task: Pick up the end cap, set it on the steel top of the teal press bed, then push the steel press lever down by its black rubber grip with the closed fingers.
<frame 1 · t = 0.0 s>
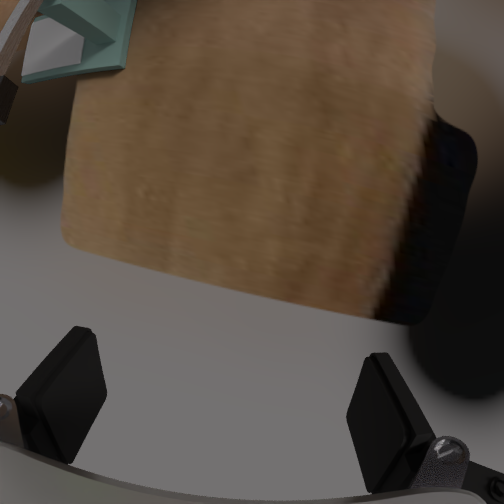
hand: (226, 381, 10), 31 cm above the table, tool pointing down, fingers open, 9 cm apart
press lever: (11, 35, 15), point 20 cm above the table, hinge at -20.0°
press frame: (77, 40, 33), on the table
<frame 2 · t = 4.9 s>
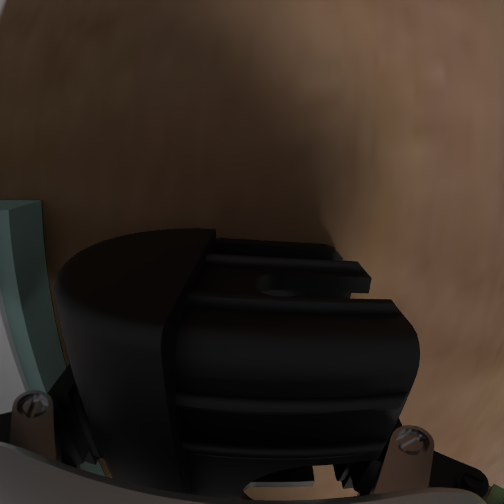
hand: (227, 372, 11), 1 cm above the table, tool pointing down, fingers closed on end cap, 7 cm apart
end cap: (229, 352, 12), on the table, touching gripper
when the fingers open (4 cm above the table, at t = 11.1 s): end cap stays where it is, resting on press frame.
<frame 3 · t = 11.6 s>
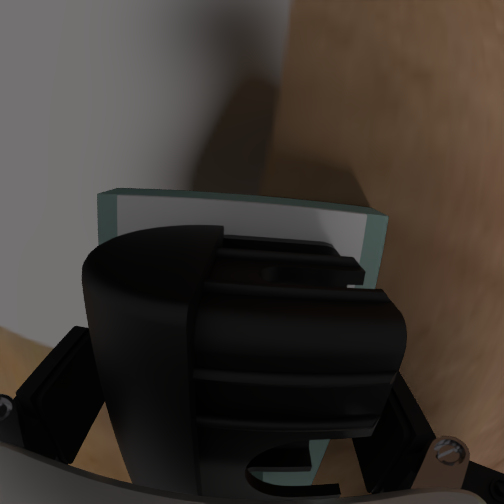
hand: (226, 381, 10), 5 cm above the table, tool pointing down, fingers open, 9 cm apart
end cap: (233, 342, 13), point 2 cm above the table, touching press frame
press frame: (231, 366, 16), on the table
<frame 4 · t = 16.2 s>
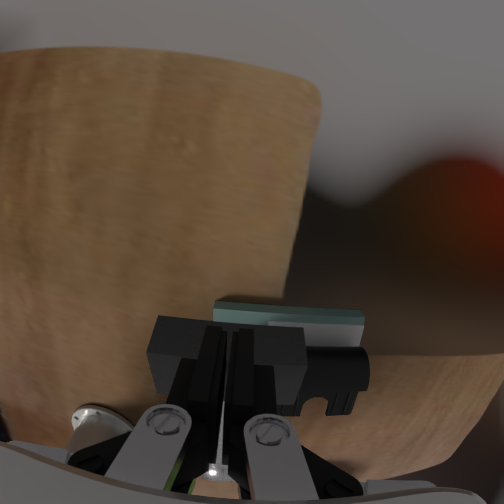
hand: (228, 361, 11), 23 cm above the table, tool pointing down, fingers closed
press lever: (225, 429, 17), point 20 cm above the table, hinge at -17.4°, touching gripper
end cap: (310, 357, 36), point 2 cm above the table, touching press frame
press frame: (284, 346, 38), on the table
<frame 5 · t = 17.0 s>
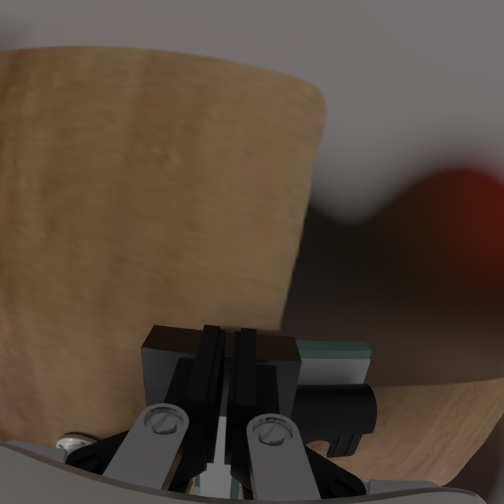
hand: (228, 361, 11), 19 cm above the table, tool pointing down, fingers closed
press lever: (216, 471, 14), point 18 cm above the table, hinge at 1.9°, touching gripper
end cap: (309, 394, 31), point 2 cm above the table, touching press frame
press frame: (281, 381, 33), on the table
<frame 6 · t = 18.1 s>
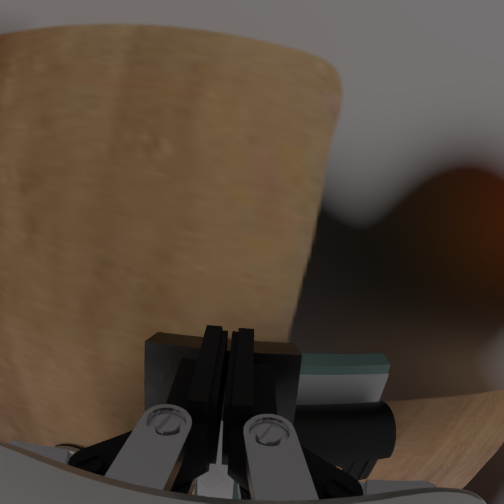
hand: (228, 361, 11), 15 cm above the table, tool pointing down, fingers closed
press lever: (215, 497, 12), point 16 cm above the table, hinge at 19.0°, touching gripper
end cap: (320, 412, 27), point 2 cm above the table, touching press frame
press frame: (289, 397, 29), on the table
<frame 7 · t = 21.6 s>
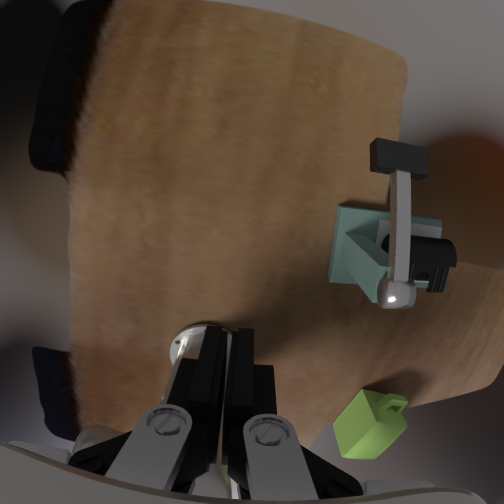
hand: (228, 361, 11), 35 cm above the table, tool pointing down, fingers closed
press lever: (400, 224, 29), point 16 cm above the table, hinge at 19.2°
end cap: (406, 253, 44), point 2 cm above the table, touching press frame
gearbox: (363, 412, 57), on the table
press frame: (384, 247, 46), on the table
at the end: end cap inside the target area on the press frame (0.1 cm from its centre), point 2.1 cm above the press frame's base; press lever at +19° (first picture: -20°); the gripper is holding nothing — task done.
